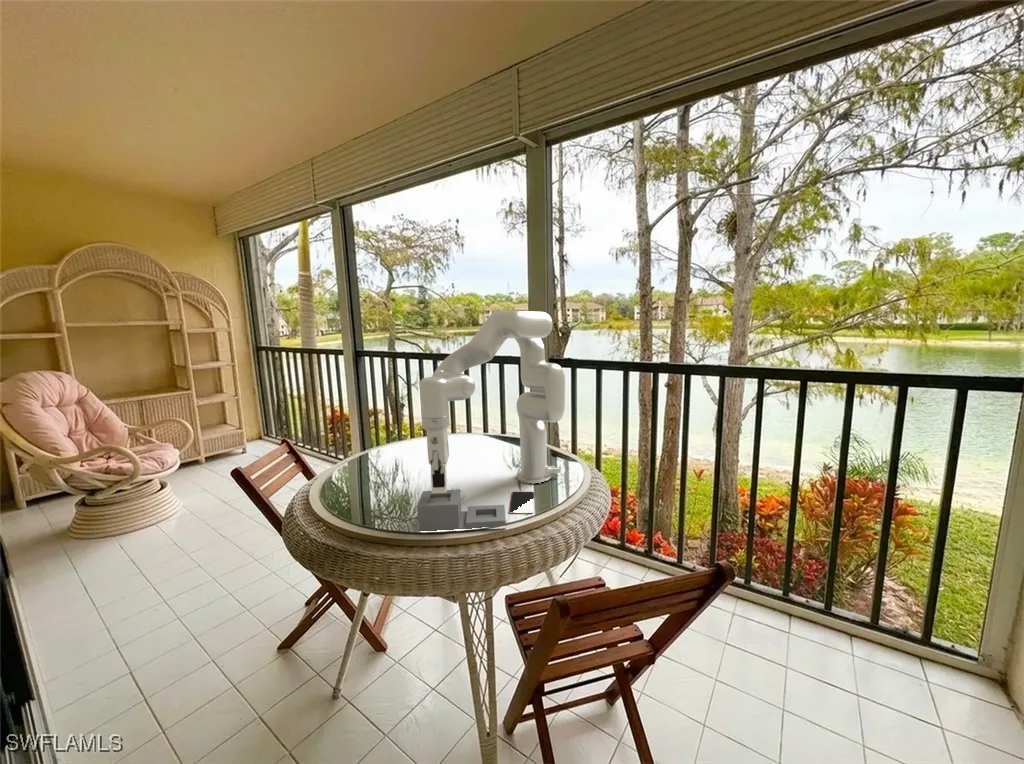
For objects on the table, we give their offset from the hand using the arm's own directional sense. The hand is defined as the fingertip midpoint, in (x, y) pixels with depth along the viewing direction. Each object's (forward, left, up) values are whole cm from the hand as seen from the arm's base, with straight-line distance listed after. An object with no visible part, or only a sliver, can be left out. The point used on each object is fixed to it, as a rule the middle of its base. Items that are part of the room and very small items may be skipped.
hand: (439, 483), depth 120 cm
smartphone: (-24, -11, -13) cm, 29 cm away
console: (-6, 0, -12) cm, 14 cm away
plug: (0, 0, -2) cm, 2 cm away
